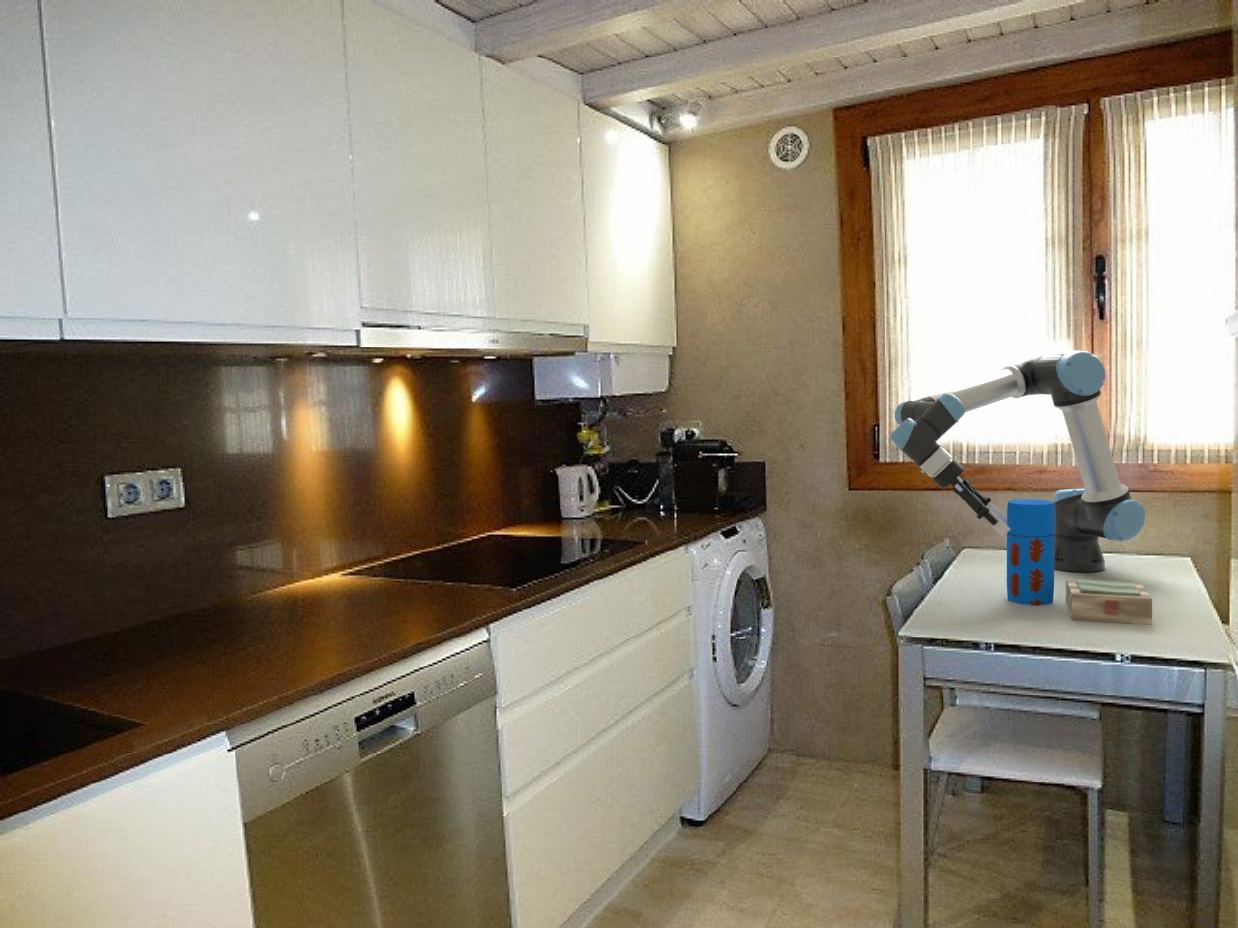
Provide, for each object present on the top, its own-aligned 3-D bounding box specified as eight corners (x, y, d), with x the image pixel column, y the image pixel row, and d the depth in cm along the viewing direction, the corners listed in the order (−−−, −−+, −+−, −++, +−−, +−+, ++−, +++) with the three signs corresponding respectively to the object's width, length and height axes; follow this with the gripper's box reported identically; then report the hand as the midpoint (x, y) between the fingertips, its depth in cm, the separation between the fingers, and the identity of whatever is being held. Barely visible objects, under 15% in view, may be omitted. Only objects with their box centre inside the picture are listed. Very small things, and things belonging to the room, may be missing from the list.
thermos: (1059, 605, 217) (1060, 504, 214) (1012, 605, 219) (1013, 505, 216) (1047, 595, 227) (1048, 498, 225) (1002, 594, 229) (1003, 499, 227)
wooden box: (1065, 602, 219) (1066, 576, 218) (1139, 607, 213) (1140, 580, 212) (1072, 620, 204) (1072, 592, 203) (1152, 625, 198) (1152, 596, 197)
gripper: (934, 473, 240) (993, 530, 236) (928, 484, 217) (994, 547, 213) (955, 454, 237) (1015, 510, 233) (951, 463, 215) (1019, 526, 210)
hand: (1005, 528), depth 223 cm, fingers open, 13 cm apart
